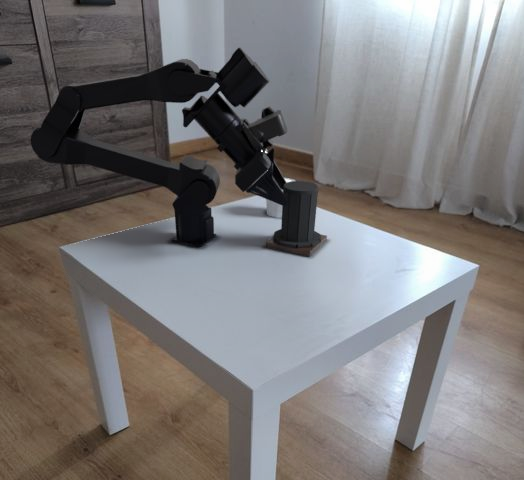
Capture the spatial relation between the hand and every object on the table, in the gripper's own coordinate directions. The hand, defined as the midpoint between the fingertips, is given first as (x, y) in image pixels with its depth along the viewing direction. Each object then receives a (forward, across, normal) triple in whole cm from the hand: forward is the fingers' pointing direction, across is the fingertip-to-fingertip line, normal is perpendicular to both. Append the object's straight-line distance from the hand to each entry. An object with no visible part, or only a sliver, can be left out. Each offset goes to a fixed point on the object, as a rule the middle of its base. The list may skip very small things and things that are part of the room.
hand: (286, 196), depth 89 cm
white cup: (+6, +17, +7) cm, 19 cm away
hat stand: (+8, 0, +5) cm, 9 cm away
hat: (+7, 0, +4) cm, 8 cm away
